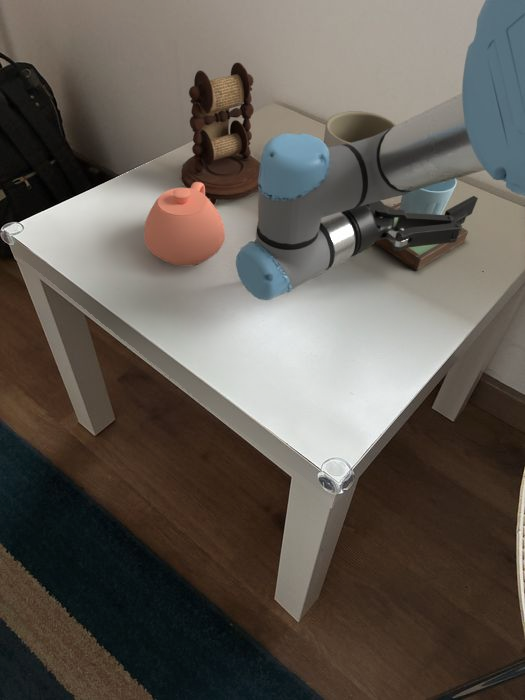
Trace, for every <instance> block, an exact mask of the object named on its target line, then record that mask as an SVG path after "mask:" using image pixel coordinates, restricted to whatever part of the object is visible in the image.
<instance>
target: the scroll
mask: <svg viewBox="0 0 525 700" xmlns="http://www.w3.org/2000/svg"><path fill="white" fill-rule="evenodd" d="M193 84H194V85H193V86H191V87H190V88H189V90H188V94H189V97H190V103H191V104H192V107H191V115H192V116H191V117H190V118H189V126H190V128H191V129H192V132H193V137H192V142H193V145H192V147H191V151H192V153H193V154H194V155H193V156H191V157H189V158H188V159H187V160H186V161H184V163H183V164H182V166H181V170H180V176H181V182H182V184H183V186H184V188H191V185H192V184H193V183H194V182H200V183H203V184H204V186H205V196H206V197H207V198H208V199H209V200H210V201H211V203H212V204H213V205H214V206H215V205H216V203H217V201H233V200H238V199H242V198H246V197H249V196H251V195H254V193H257V192H258V191H259V188H258V178H259V170H260V162H261V161H259V160H258V159H256V158H255V157H253V156H251V154H252V153H251V152H252V151H251V148H250V145H251V140H252V137H253V133H252V132H251V128H252V125H251V121H250V120H251V119H252V116H253V115H254V111H255V110H254V106H253V104H252V99H253V97H252V94H251V91H252V90H253V87H252V86H253V85H254V77H253V76H252V75H251V74H250V73H249V72H248V70H247V69H246V68H245V66H244V65H243V64H242V63H241V62H234V63H233V65H232V66H231V69H230V75H228V76H223V77H218V78H214V79H210V78H209V76H208V75H207V73H206V71H203V70H198V71H196V73H195V76H194V81H193ZM238 107H239V108H238ZM230 109H231V110H230ZM240 116H241V118H242V119H243V121H242V123H241V122H240V121H239V120H237V119H235V120H233V121H231V123H230V119H231V118H240Z"/></svg>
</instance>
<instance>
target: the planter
mask: <svg viewBox="0 0 525 700" xmlns="http://www.w3.org/2000/svg"><path fill="white" fill-rule="evenodd" d="M396 125H397V124H396V123H395V122H393V121H392V120H391V119H389V118H387V117H385V116H383V115H381V114H377V113H374V112H370V111H361V110H350V111H349V110H348V111H343V112H338V113H336V114H333V115H332V116H330V117H329V118H328V119H327V120H326V122H325V128H324V136H323V142H324V143H325V144H326V146H327V148H329V147H333V146H337V145H343V144H349V143H353V142H356V141H360V140H363V139H367V138H370V137H373V136H375V135H378V134H380V133H382V132H384V131H386V130H388V129H390V128H393V127H394V126H396Z"/></svg>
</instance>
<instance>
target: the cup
mask: <svg viewBox="0 0 525 700" xmlns="http://www.w3.org/2000/svg"><path fill="white" fill-rule="evenodd" d="M457 183H458V182H457V178H455V179H452V180H449V181H445V182H442V183H438V184H435V185H431V186H428V187H424V188H421V189H417V190H414V191H412V192H410V193H408V194H405V195H401V198H400V202H401V205H400V210H404V211H405V213H414V214H434V215H443V212H444V210H445V208H446V206H447V204H448V202H449V200H450V199H451V197H452V194H453V192H454V191H455V189H456V187H457Z"/></svg>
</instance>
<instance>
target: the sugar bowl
mask: <svg viewBox="0 0 525 700" xmlns="http://www.w3.org/2000/svg"><path fill="white" fill-rule="evenodd" d="M144 224H145V225H144V231H143V236H144V237H143V238H144V243H145V246H146V247H147V249H148V250H149V251H150V252H151V253H152V254H153V256H155V257H156V258H158V259H159V260H162V261H164V262H165V263H168V264H171V265H174V266H183V267H184V266H187V267H188V266H199V265H200V264H202V263H204V262H206V261H208V260H210V258H212V257H213V256H215V255H216V254H217V253H218V252H219V251H220V250H221V248H222V247H223V245H224V243H225V239H226V230H225V225H224V221H223V219H222V217H221V215H220V212H219V211H218V209H217V208H216V206H215V204H214V205H213V204H212V203H211V201H210V199H209V198H207V197H206V196H205V186H204V184H203V183H200V182H194V183H193V184H192V185H191V188H186V187H176V188H175V187H174V188H171V189H168V190H166V191H165V192H163V193H162V194H160V195H159V196H158V198H157V199H156V200H155V202H154V203H153V205H152V207H151V208H150V210H149V211H148V214H147V216H146V220H145V223H144Z"/></svg>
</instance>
